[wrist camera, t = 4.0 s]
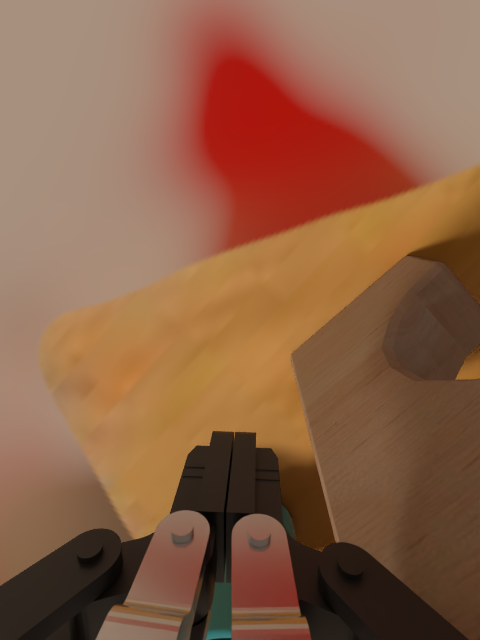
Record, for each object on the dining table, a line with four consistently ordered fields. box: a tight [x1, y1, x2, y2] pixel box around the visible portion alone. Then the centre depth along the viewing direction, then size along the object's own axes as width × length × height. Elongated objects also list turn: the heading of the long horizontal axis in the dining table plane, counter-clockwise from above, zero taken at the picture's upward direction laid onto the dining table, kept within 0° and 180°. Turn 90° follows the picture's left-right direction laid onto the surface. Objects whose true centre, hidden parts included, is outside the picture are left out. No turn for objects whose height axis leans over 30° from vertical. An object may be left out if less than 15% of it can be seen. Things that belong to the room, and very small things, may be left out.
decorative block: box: [291, 256, 480, 640], centre depth 16 cm, size 11×6×20 cm, turn 133°
